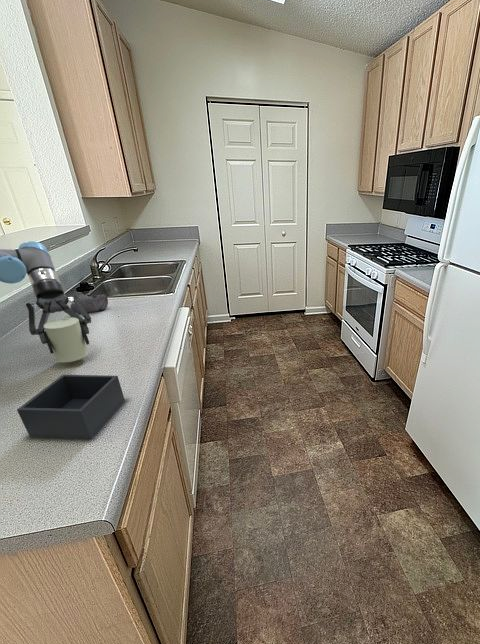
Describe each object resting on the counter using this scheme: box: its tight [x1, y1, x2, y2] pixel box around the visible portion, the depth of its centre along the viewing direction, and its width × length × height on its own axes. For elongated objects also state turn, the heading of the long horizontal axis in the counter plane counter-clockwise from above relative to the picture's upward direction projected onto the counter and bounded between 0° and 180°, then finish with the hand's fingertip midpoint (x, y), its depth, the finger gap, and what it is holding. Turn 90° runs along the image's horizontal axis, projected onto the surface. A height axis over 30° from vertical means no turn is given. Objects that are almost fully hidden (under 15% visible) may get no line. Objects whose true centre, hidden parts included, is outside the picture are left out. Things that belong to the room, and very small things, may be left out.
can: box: [44, 316, 90, 363], centre depth 104 cm, size 9×9×12 cm
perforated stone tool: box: [69, 293, 109, 314], centre depth 148 cm, size 15×5×7 cm, turn 119°
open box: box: [16, 374, 126, 440], centre depth 80 cm, size 15×15×8 cm
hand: (70, 347), depth 103 cm, fingers closed on can, 9 cm apart
